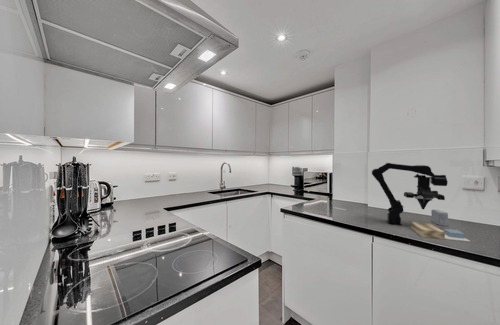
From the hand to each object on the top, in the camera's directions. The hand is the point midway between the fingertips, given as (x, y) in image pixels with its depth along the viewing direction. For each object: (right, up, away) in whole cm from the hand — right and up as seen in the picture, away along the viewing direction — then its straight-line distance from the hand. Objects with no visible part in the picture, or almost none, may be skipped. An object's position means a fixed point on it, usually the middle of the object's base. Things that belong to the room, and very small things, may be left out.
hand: (422, 209), depth 121 cm
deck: (-7, -12, -9) cm, 16 cm away
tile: (+4, -9, -14) cm, 17 cm away
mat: (+3, -12, -13) cm, 18 cm away
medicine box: (+16, -12, +6) cm, 21 cm away
